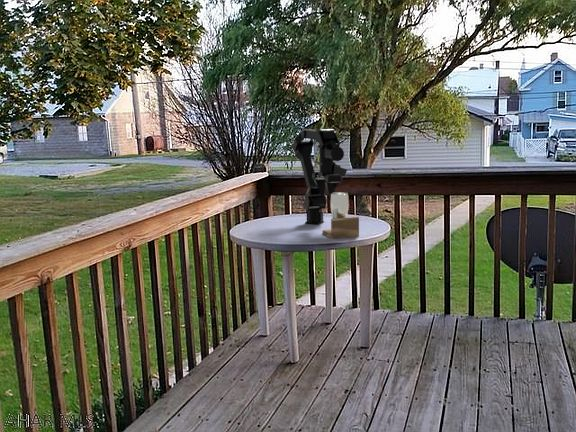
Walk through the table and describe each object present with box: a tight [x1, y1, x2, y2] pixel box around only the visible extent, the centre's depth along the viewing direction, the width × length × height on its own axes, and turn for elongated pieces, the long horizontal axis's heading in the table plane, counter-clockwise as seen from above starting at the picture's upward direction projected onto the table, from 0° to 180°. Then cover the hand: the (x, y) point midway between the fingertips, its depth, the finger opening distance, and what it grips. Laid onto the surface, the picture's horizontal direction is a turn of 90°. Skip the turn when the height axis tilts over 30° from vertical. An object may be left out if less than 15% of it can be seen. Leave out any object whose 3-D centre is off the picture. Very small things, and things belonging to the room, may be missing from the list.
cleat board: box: [322, 215, 360, 240], centre depth 219 cm, size 10×11×8 cm
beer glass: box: [330, 191, 349, 219], centre depth 219 cm, size 7×7×15 cm
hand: (326, 197), depth 232 cm, fingers open, 9 cm apart
